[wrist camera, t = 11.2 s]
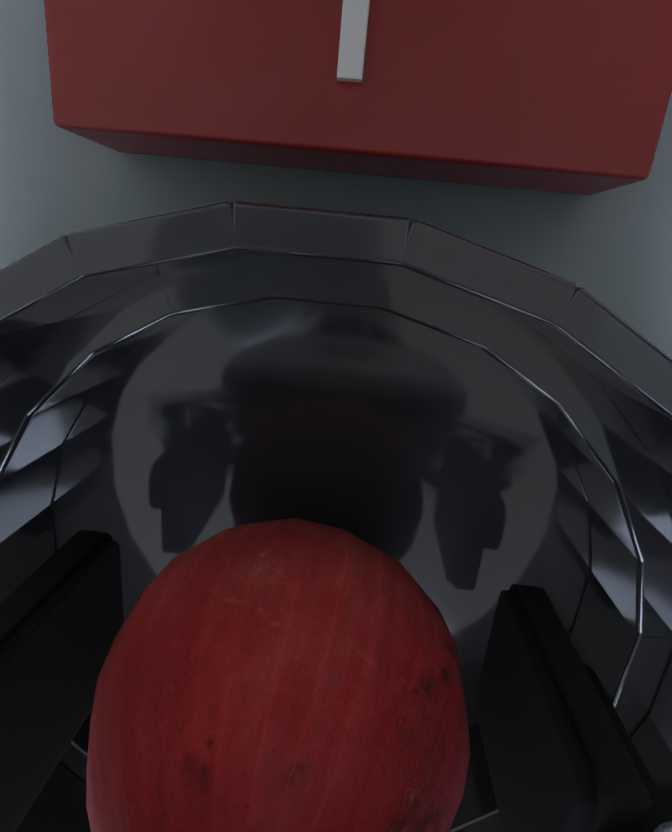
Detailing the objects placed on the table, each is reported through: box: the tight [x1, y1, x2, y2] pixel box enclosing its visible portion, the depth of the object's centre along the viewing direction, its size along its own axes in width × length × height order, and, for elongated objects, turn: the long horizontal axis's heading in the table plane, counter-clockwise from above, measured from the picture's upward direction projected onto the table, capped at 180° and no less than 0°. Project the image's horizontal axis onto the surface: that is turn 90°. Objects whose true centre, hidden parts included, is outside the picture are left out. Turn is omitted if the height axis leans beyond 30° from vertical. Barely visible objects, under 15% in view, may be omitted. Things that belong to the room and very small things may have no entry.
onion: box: [86, 518, 470, 832], centre depth 8 cm, size 6×6×8 cm
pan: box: [0, 202, 672, 832], centre depth 10 cm, size 15×15×4 cm
